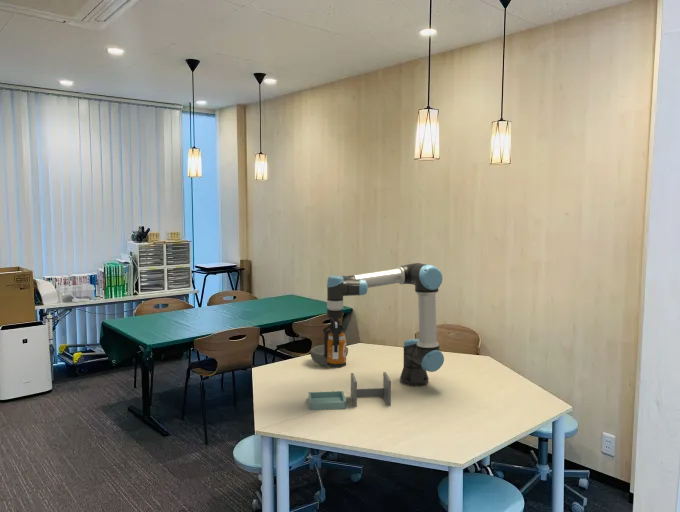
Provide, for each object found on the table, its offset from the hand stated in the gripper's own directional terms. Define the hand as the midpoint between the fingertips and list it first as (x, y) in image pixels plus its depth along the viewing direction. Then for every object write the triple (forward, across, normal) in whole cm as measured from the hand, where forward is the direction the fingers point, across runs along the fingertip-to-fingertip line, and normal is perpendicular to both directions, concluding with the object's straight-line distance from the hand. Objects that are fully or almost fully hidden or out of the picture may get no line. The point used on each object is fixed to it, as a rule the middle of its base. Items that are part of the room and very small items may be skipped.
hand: (334, 355), depth 251 cm
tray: (+23, 0, -3) cm, 23 cm away
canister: (+5, 0, 0) cm, 5 cm away
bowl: (+23, -63, +3) cm, 67 cm away
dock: (+23, 0, +18) cm, 29 cm away
